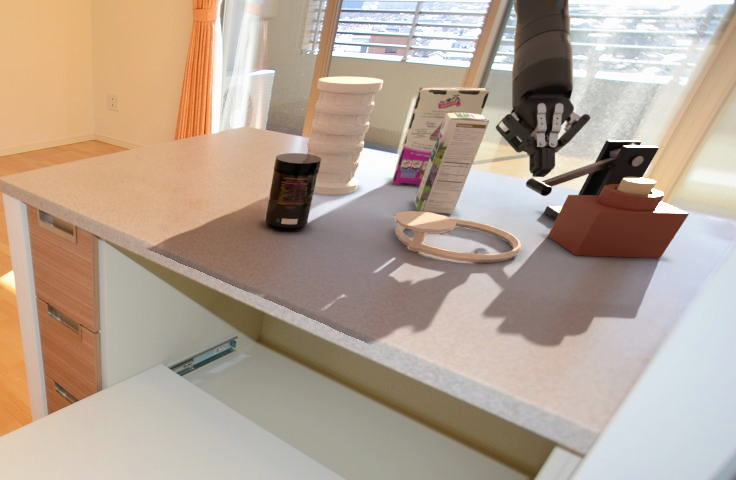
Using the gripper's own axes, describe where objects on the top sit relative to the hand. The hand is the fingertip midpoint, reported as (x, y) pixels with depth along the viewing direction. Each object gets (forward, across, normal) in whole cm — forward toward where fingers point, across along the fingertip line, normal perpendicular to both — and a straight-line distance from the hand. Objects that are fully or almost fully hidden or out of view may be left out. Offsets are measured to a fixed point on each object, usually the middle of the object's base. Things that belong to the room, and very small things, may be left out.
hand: (541, 174), depth 85 cm
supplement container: (+10, +39, -1) cm, 40 cm away
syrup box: (+1, +12, -9) cm, 15 cm away
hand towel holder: (+14, +16, +3) cm, 21 cm away
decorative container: (-8, +28, -18) cm, 34 cm away
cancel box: (+13, -6, +3) cm, 15 cm away
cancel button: (+8, -6, +8) cm, 13 cm away
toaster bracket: (+5, -10, -5) cm, 13 cm away
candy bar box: (-10, +9, -21) cm, 25 cm away
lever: (+1, -6, 0) cm, 6 cm away
